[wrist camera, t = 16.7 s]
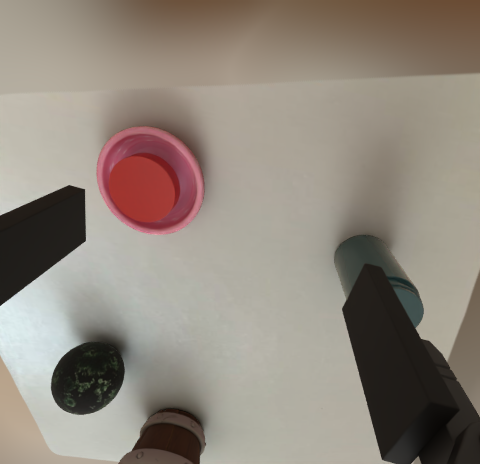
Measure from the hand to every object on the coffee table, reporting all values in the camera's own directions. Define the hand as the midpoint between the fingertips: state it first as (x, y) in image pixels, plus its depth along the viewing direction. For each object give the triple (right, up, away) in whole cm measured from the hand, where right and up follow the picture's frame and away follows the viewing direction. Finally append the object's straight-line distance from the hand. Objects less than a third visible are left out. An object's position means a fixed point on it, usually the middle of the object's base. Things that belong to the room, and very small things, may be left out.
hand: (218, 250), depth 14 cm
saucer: (-9, +7, +22) cm, 25 cm away
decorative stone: (-22, -19, +37) cm, 47 cm away
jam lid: (-9, +5, +18) cm, 21 cm away
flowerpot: (-11, -36, +43) cm, 57 cm away
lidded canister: (+16, -3, +24) cm, 29 cm away
